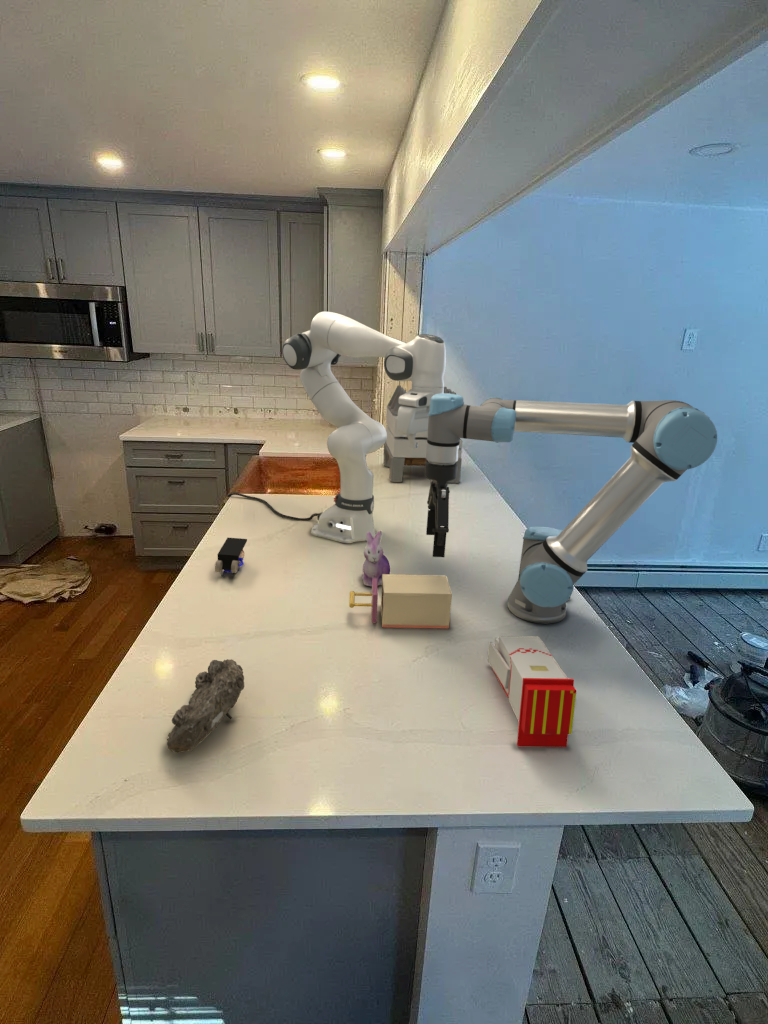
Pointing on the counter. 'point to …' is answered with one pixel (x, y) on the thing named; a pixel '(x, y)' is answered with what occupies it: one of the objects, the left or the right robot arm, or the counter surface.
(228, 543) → the figurine character
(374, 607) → the drawer
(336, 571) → the counter surface
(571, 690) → the toy
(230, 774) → the counter surface
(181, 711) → the fossil
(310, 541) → the counter surface
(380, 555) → the figurine
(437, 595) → the beige drawer cabinet
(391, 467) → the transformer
